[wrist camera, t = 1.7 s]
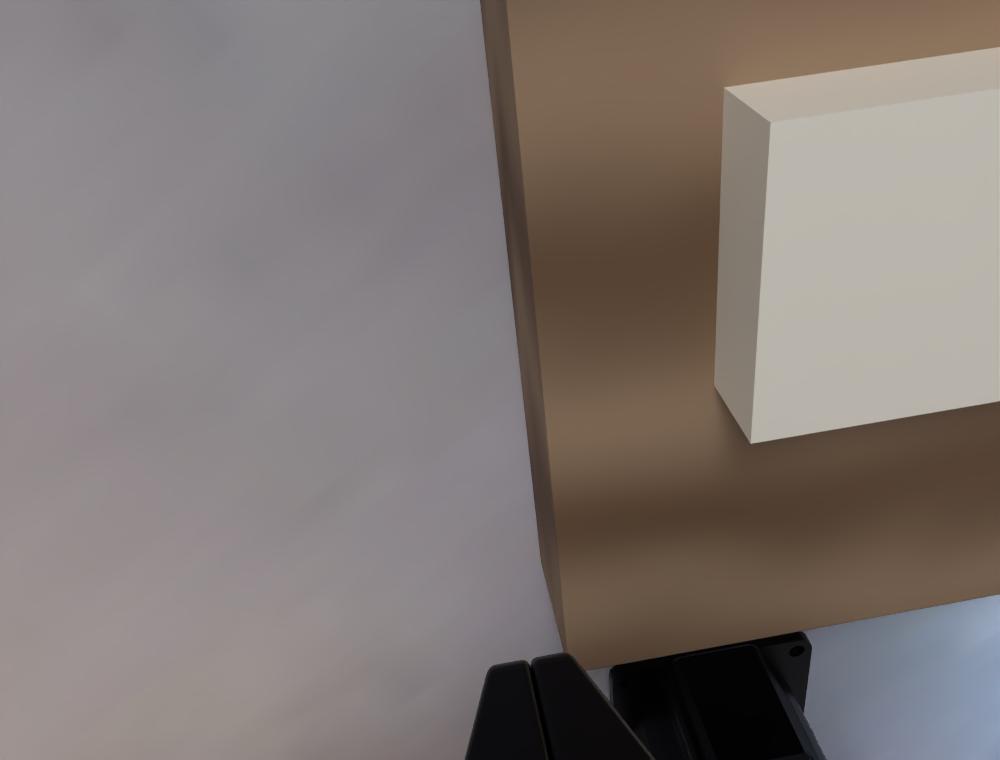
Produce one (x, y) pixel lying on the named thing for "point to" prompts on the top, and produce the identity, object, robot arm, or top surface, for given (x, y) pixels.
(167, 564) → the top surface
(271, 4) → the top surface
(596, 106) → the flat brown block
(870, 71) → the thick cream block
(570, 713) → the robot arm
